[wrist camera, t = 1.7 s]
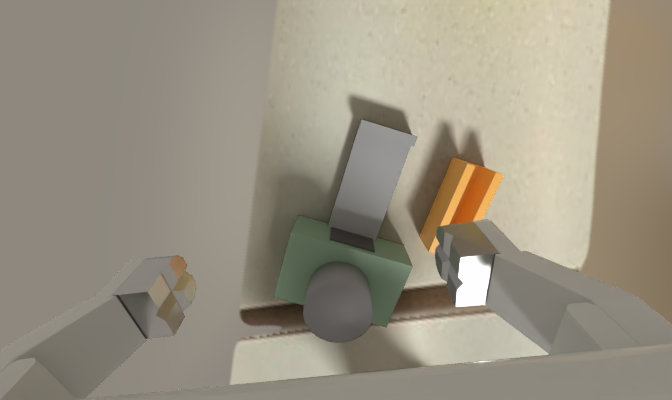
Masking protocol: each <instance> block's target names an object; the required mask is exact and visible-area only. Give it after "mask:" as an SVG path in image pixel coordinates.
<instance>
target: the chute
mask: <svg viewBox="0 0 672 400" xmlns="http://www.w3.org/2000/svg"><path fill="white" fill-rule="evenodd" d="M503 176H504V175H503V174H501V173H498V172H496V171H493V170H491V169H488V168H486V167H483V166H480V165H476V164H473V163H470V162H467V161H463V160H460V159H457V158H452V160H451V162H450V165H449V167H448V169H447V172H446V174H445V176H444V179H443V181H442V184H441V186H440V188H439V191H438V193H437V195H436V198H435V200H434V202H433V205H432V207H431V210H430V212H429V214H428V217H427V219H426V221H425V224H424V226H423V228H422V231H421V233H420V238H421V240H422V242H423V243H424V245H425V247H426V248H427V250H428V252H431V253H434V254H435V249H436V247H437V246H438V245H439V242H438V240H437V238H436V230H437V227H438V226H443V225H451V224H459V223H467V222H471V221H478V220H482V219H483V217H484V215H485V213H486V211H487V209H488V207H489V205H490V203H491V201H492V199H493V197H494V195H495V192H496V190H497V188H498V186H499V184H500V182H501V180H502V178H503Z"/></svg>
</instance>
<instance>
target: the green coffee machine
mask: <svg viewBox="0 0 672 400" xmlns="http://www.w3.org/2000/svg"><path fill="white" fill-rule="evenodd" d="M416 140H417V136H414V135H411V134H408V133H404V132H401V131H398V130H395V129H392V128H388V127H385V126H382V125H379V124H375V123H372V122H369V121H366V120H362V119H361V120H360V123H359V126H358V130H357V133H356V136H355V139H354V143H353V146H352V149H351V152H350V156H349V159H348V162H347V165H346V168H345V172H344V175H343V178H342V181H341V185H340V188H339V191H338V194H337V198H336V201H335V204H334V207H333V211H332V214H331V217H330V220H329V223H325V222H322V221H318V220H315V219H311V218H308V217H304V216H301V215H298V217H297V219H296V222H295V224H294V226H293V228H292V230H291V233H290V237H289V240H288V244H287V248H286V252H285V255H284V259H283V263H282V267H281V270H280V274H279V278H278V282H277V285H276V289H275V293H274V297H275V298H278V299H282V300H286V301H290V302H293V303H297V304H301V305H304V308H303V317H304V321H305V323H306V325H307V327H308V328H309V329H310V331H311V332H312V333H313V334H315V335H316V336H318V337H319V338H321V339H324V340H327V341H330V342H347V341H351V340H354V339H356V338H358V337H360V336H361V335H362V334H364V333H365V332H366V330H367V329H368V328H369V326H370V324H371V323H372V324H375V325H379V326H383V327H387V325H388V322H389V320H390V318H391V315H392V313H393V311H394V308H395V306H396V304H397V301H398V299H399V297H400V294H401V292H402V290H403V287H404V285H405V283H406V280H407V278H408V276H409V273H410V271H411V269H412V267H413V266H412V264H411V261H410V259H409V257H408V254H407V252H406V250H405V247H404V245H402V244H399V243H395V242H392V241H388V240H385V239H381V238H378V237H377V235H378V233H379V230H380V227H381V225H382V222H383V219H384V217H385V214H386V211H387V209H388V206H389V203H390V201H391V198H392V195H393V193H394V190H395V187H396V185H397V182H398V179H399V176H400V174H401V171H402V168H403V166H404V163H405V160H406V158H407V155H408V152H409V150H410V147H411V146H414V145H415V142H416Z"/></svg>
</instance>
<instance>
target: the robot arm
mask: <svg viewBox="0 0 672 400" xmlns="http://www.w3.org/2000/svg"><path fill="white" fill-rule="evenodd" d="M436 238H437V240H438V242H439V245H438V246H437V247H436V249H435V259H436V266H437V269H438V272H439V274H440V276H441V278H442V279H443V280H445V281H447V291H448V293H449V295H450V297H451V299H452V301H453V303H454V305H455V307H461V306H474V305H486V307H488V308H489V309H490V310H492V311H493V312H494V313H496V314H497V315H498V316H500V317H501V318H502V319H504V320H505V321H506V322H508V323H509V324H510V325H512V326H513V327H514V328H516V329H517V330H518V331H520V332H521V333H522V334H524V335H525V336H526V337H528V338H529V339H530V340H532V341H533V342H534V343H536V344H537V345H538V346H540V347H541V348H542V349H544V350H545V351H546V352H548V353H549V355H542V356H531V357H521V358H510V359H499V360H489V361H478V362H468V363H457V364H446V365H436V366H425V367H415V368H404V369H393V370H383V371H372V372H362V373H351V374H341V375H330V376H320V377H309V378H298V379H288V380H277V381H267V382H256V383H246V384H235V385H226V386H214V387H204V388H193V389H183V390H171V391H161V392H151V393H139V394H129V395H118V396H108V397H97V398H86V397H87V396H88V395H89V394H90V393H91V392H92V391H93V390H94V389H95V388H97V387H98V386H99V385H100V384H101V383H102V382H103V381H104V380H105V379H106V378H107V377H108V376H109V375H111V374H112V373H113V372H114V371H115V370H116V369H117V368H118V367H119V366H120V365H121V364H122V363H123V362H124V361H125V360H126V359H128V358H129V357H130V356H131V355H132V354H133V353H134V352H135V351H136V350H137V349H138V348H139V347H141V346H142V345H143V344H144V343H145V342H146V341H147V340H146V339H152V338H160V337H168V336H174V335H175V334H176V332H177V330H178V328H179V326H180V324H181V323H182V321H183V319H184V317H185V316H184V313H183V311H184V310H185V309H187V308H188V307H189V306H190V305H191V304H192V302H193V300H194V298H195V294H196V284H195V280H194V278H193V276H192V275H191V274H189V273H188V272H186V271H185V270H186V267H187V264H186V262H185V260H184V258H183V257H181V256H178V255H177V256H166V257H155V258H145V259H136V260H132V261H129V262H128V263H127V264H126V265H125V266H124V267H123V268H122V269H121V270H120V271H119V272H118V273H117V274H116V275H115V276H114V277H113V278H112V279H111V280H110V282H108V283H107V284H106V285H105V287H104V288H103V289H102V290H101V291H100V292H99V293H98V294H97V295H96V296H95V297H94V298H91V299H87V300H85V301H84V302H82V303H80V304H78V305H77V306H75V307H73V308H71V309H70V310H68V311H66V312H65V313H63V314H61V315H59V316H57V317H56V318H54V319H52V320H51V321H49V322H47V323H45V324H44V325H42V326H40V327H38V328H37V329H35V330H33V331H32V332H30V333H28V334H26V335H25V336H23V337H21V338H20V339H18V340H16V341H14V342H12V343H11V344H9V345H7V346H6V347H4V348H2V349H0V400H672V324H671V323H669V322H668V321H667V320H666V319H664V318H663V317H662V316H660V315H659V314H658V313H657V312H656V311H654V310H653V309H652V308H650V307H649V306H648V305H647V304H646V303H644V302H643V301H642V300H641V299H640V298H638V297H637V296H635V295H633V294H630V293H628V292H625V291H623V290H621V289H618V288H616V287H613V286H611V285H608V284H606V283H603V282H601V281H599V280H596V279H593V278H591V277H589V276H586V275H584V274H581V273H579V272H577V271H574V270H572V269H569V268H567V267H564V266H562V265H559V264H557V263H555V262H552V261H550V260H547V259H545V258H542V257H540V256H537V255H535V254H532V253H530V252H528V251H522V252H521V251H520V250H519V249H518V248H517V247H516V246H515V245H514V244H513V243H512V242H511V241H510V240H509V239H508V238H507V237H506V236H505V235H504V233H503V232H502V231H501V230H500V229H499V228H498V227H497V226H496V225H495V224H494V223H493V222H492V221H491V220H488V219H485V220H478V221H471V222H467V223H459V224H451V225H443V226H438V227H437V230H436ZM85 398H86V399H85Z"/></svg>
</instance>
